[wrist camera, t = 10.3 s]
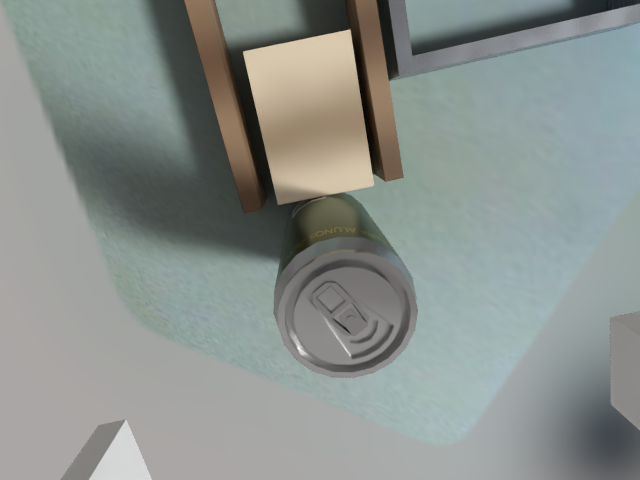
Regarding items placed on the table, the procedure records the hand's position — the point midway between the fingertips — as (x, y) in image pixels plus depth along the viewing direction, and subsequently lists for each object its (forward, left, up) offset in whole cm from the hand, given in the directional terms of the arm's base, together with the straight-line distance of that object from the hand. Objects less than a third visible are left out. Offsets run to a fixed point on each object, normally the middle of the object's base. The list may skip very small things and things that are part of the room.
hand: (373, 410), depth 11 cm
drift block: (-8, 0, -16) cm, 18 cm away
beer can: (-1, 0, -16) cm, 16 cm away
